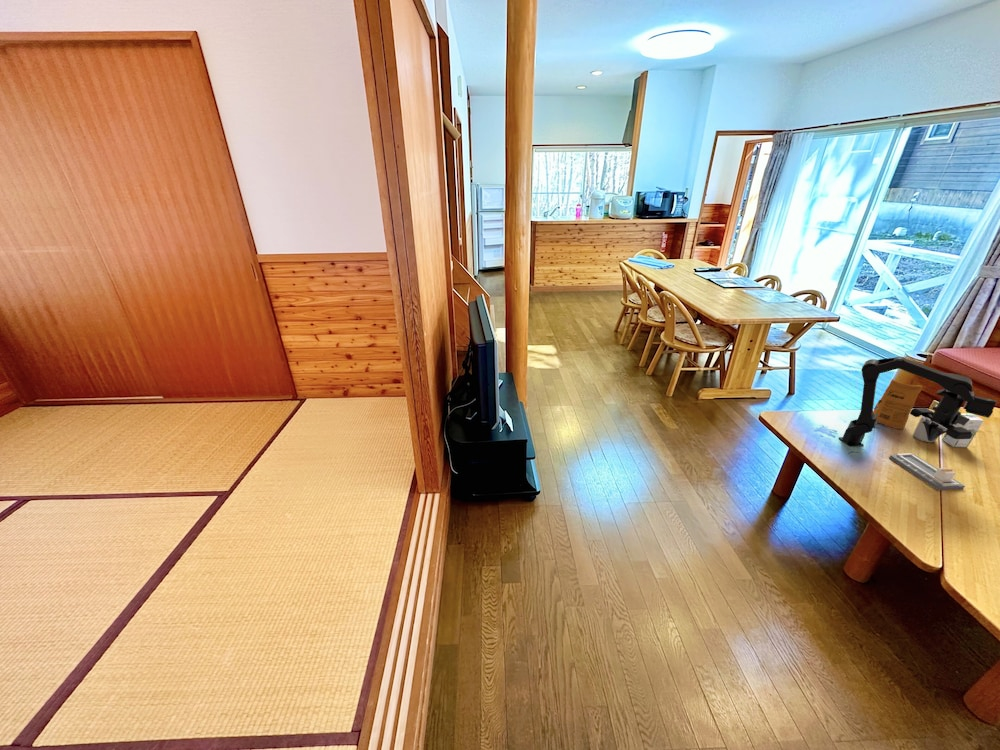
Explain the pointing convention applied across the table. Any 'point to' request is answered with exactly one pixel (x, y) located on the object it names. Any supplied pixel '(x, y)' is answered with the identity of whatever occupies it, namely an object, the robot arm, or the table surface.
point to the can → (921, 431)
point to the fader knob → (944, 474)
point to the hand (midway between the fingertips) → (930, 440)
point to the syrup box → (971, 426)
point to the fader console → (924, 471)
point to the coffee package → (896, 404)
